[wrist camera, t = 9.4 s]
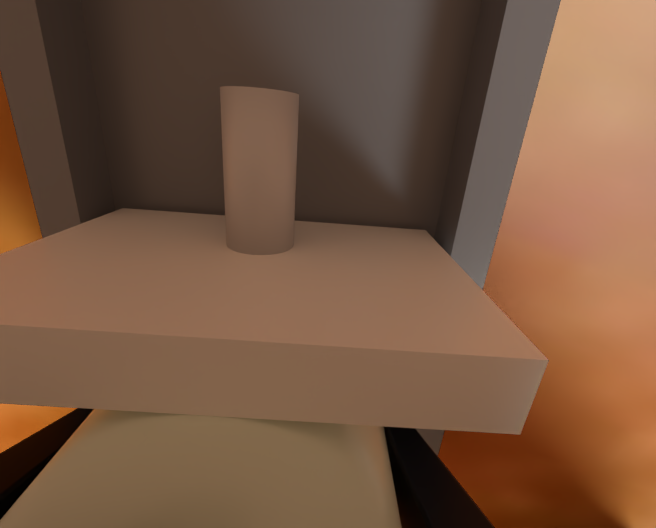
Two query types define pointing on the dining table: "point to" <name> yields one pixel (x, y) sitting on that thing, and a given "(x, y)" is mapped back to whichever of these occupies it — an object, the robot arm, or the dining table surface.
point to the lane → (286, 75)
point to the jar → (211, 475)
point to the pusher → (260, 309)
